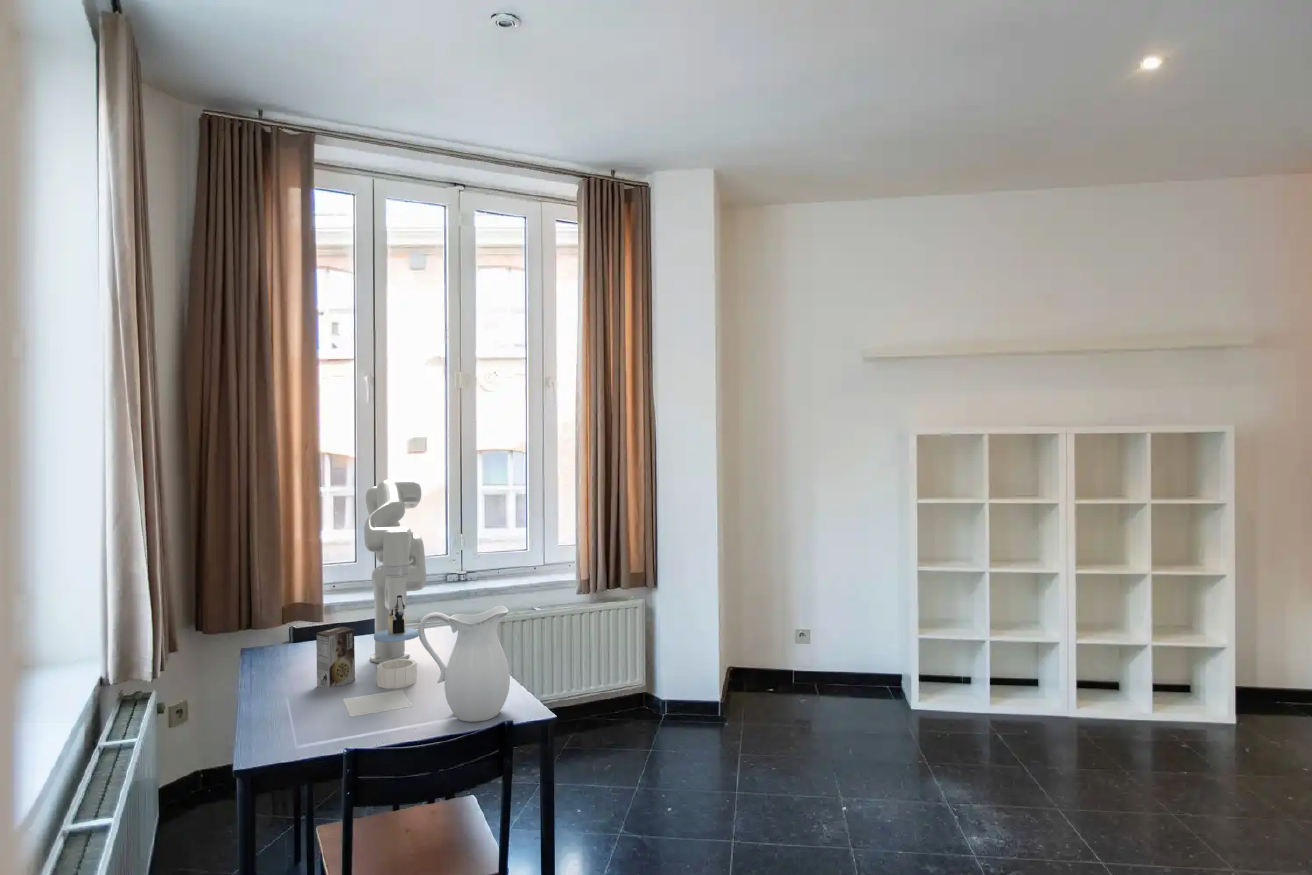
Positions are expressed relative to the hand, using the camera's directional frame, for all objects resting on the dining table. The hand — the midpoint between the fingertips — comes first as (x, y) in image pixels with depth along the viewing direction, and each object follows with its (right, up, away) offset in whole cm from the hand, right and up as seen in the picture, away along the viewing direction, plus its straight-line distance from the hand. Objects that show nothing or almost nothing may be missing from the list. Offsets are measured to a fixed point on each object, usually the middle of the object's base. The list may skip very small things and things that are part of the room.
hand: (396, 630), depth 228 cm
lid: (0, -2, 0) cm, 2 cm away
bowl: (0, -16, 0) cm, 16 cm away
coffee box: (-19, -17, +1) cm, 25 cm away
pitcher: (+27, -16, -26) cm, 41 cm away
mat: (+1, -16, -18) cm, 24 cm away
